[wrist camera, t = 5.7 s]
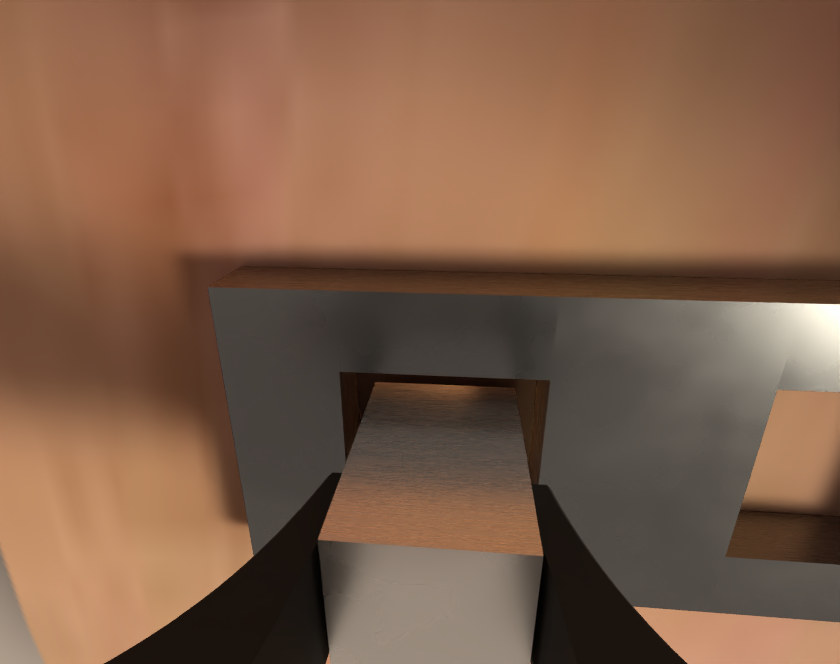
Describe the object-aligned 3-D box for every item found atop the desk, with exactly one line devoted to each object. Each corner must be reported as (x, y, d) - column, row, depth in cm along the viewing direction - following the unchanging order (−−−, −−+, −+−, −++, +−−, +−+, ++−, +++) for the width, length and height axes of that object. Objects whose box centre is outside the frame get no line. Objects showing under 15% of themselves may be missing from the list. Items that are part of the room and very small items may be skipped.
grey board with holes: (1123, 287, 13) (1248, 318, 11) (959, 578, 16) (1027, 642, 14) (240, 266, 14) (203, 289, 12) (278, 531, 18) (254, 582, 16)
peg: (514, 388, 14) (543, 555, 9) (505, 499, 16) (524, 703, 10) (375, 381, 14) (317, 539, 9) (379, 492, 16) (333, 684, 11)
